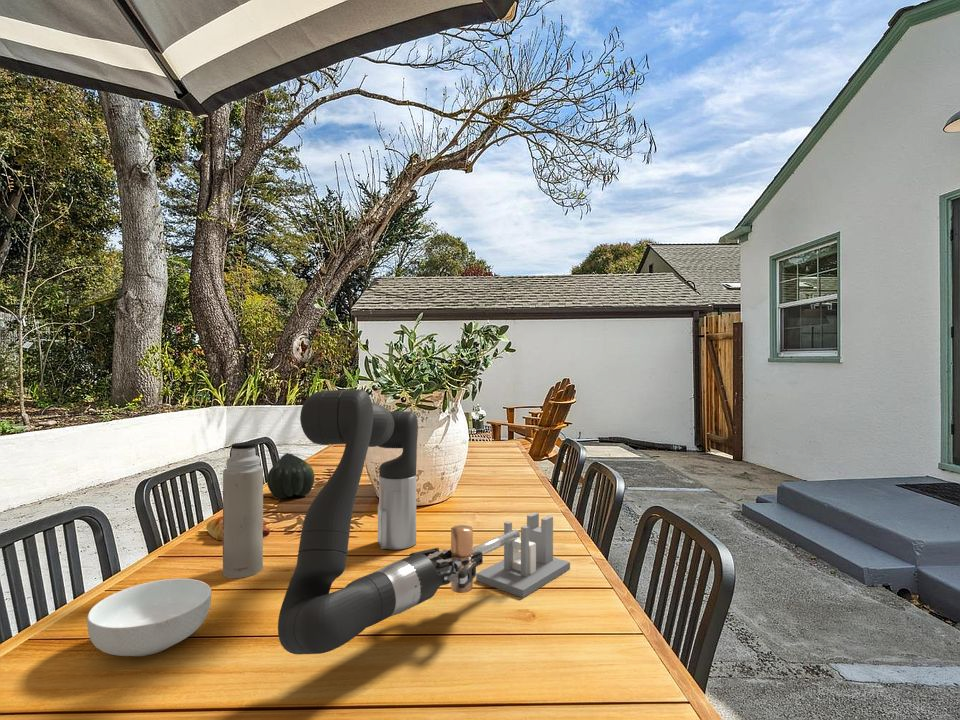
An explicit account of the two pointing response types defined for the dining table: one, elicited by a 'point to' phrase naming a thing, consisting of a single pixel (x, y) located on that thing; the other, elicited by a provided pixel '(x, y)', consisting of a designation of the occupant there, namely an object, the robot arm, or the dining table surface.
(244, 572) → the thermos bottle
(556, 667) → the dining table surface
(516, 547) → the block
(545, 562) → the shaft bracket
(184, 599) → the cereal bowl
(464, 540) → the shaft
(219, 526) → the croissant
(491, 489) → the dining table surface
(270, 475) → the squash
